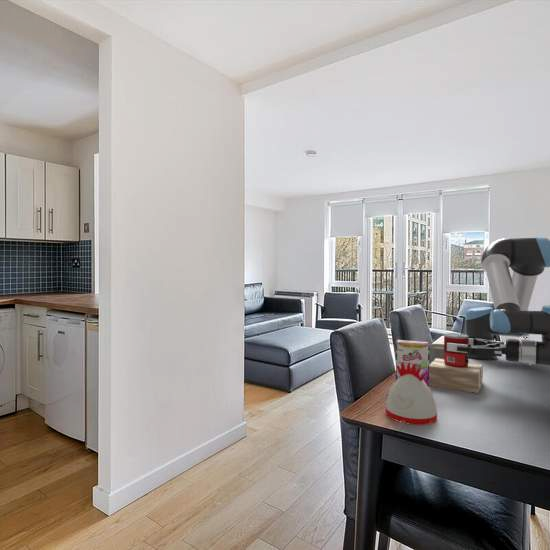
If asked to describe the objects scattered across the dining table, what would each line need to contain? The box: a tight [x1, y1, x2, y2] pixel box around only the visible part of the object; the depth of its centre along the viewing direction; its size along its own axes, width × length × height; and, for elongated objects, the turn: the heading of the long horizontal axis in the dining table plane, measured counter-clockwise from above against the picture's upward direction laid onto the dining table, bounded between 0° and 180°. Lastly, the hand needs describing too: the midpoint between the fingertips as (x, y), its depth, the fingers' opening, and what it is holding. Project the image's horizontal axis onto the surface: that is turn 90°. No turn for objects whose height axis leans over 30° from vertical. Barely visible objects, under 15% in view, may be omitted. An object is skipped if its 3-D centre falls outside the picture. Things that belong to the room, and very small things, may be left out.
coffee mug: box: [429, 343, 444, 365], centre depth 155 cm, size 13×10×10 cm
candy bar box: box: [394, 339, 430, 388], centre depth 131 cm, size 11×5×16 cm, turn 71°
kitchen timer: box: [385, 362, 438, 426], centre depth 107 cm, size 14×14×15 cm
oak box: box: [429, 358, 484, 394], centre depth 136 cm, size 14×16×7 cm
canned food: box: [443, 332, 469, 367], centre depth 136 cm, size 8×8×11 cm
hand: (450, 343), depth 137 cm, fingers open, 13 cm apart
